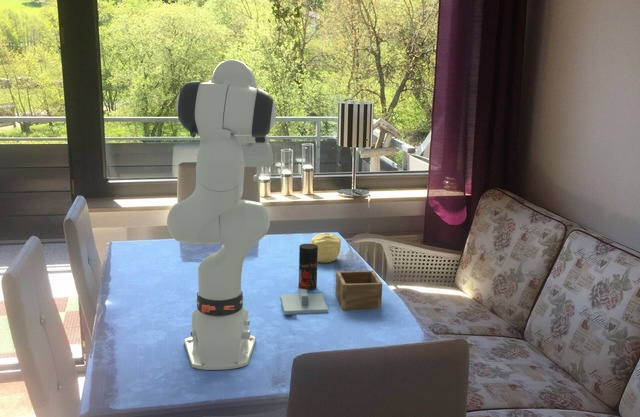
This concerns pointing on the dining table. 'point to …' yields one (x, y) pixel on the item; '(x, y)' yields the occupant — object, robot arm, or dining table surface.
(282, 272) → the dining table surface
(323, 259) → the sculpture
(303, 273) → the deodorant
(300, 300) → the lid
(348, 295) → the box
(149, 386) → the dining table surface
